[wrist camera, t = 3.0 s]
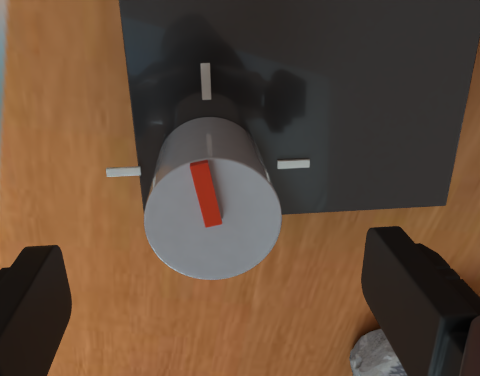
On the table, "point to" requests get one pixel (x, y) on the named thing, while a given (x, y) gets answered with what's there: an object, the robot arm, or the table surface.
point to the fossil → (375, 357)
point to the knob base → (310, 91)
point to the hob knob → (211, 201)
